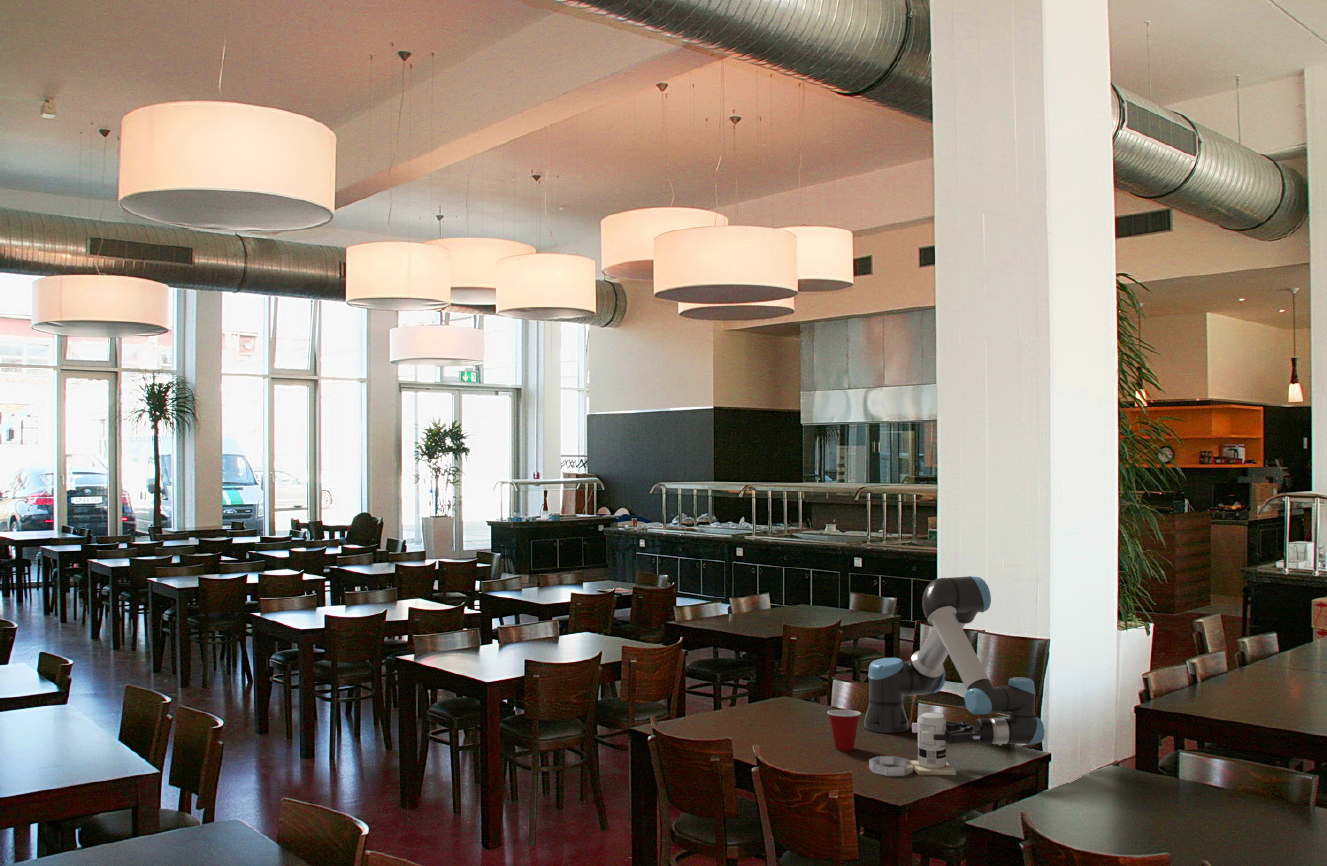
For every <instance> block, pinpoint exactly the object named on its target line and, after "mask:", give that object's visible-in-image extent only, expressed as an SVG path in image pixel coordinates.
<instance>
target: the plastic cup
mask: <svg viewBox="0 0 1327 866" xmlns="http://www.w3.org/2000/svg"><path fill="white" fill-rule="evenodd" d="M826 713H827V715H828V718H829V722H830V728H831V732H832V739H833V743H834V749H835V750H837V751H841V752H851V751H853V750H854V747H855V740H856V737H857V736H856V735H857V729H858V725H859V724H858V723H859V718H860V715H861V714H862V712H860V711H858V710H853V709H852V710H851V709H831V710H828V711H826Z"/></svg>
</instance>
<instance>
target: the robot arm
mask: <svg viewBox="0 0 1327 866" xmlns="http://www.w3.org/2000/svg"><path fill="white" fill-rule="evenodd" d="M921 602H922V603H921V604H922V609H923V614H924V617H925V618H926V620H927V622H928V624H929V625H931V626H932V628H931V630H930V632H929V633H928V635H927V637H926V639H925V640H924V643H923V644H922V646H921V648H920V650H917V651H915V652H914V653H913V654H912V655H911V657H910V659H909V660H907V661H903V659H901V658H898V657H883V658H878V659H875V660H873V661H871V662H870V664H869V666H868V674H867V675H868V707H867V709H866V713H865V717H864V719H863V720H864V721H863V725H864V726H863V728H865V729H866V730H868V731H871V732H876V733H882V734H883V733H884V734H896V733H904V732H907V731H908V730H909V719H908V718H907V714H906V711H905V707H904V697H907V696H908V697H909V696H922V695H923V696H924V695H926V696H927V695H932V694H936V693H939V691H941V690H942V689H943V687H944V686H945V683H946V679H945V677H946V670H945V668H944V662H945V661H946V658H947V657H949V658H950V660H951V662H952V664H953V666H954V668H955V670H956V672H957V674H958V675H959V677H960V680H961V682H962V684H963V685H964V687H965V689H966V692H965V694H964V698H963V699H964V702H965V707H966V710H967V711H968V712H969V713H970V714H972V715H980V716H981V715H984V716H985V715H986V716H987V715H990V714H999V713H1008V716H1009V717H991V718H985V717H983V718H976V720H975V721H974V724H970V723H967V722H966V721H949V720H948V721H947V720H946V730H945V734H944V732H922V742H935V741H944V740H945V742H946V743H949V744H950V745H951V744H952V745H953V744H961V743H975V742H977V744H979V745H992V744H993V745H998V746H1002V745H1003V744H1004V745H1009V744H1010V745H1011V744H1012V745H1013V744H1014V745H1018V744H1019V745H1022V744H1023V745H1032V744H1040V743H1041V742H1042V741H1043V740H1044V738H1045V728H1044V722H1043V721H1042V719H1041V718H1039V717H1036V687H1035V686H1036V685H1035V682H1034V680H1033V679H1031V678H1028V677H1023V676H1021V677H1020V676H1013V677H1010V678H1009V679H1008V682H1007V685H1004V686H1002V685H1001V686H994V685H993V683H992V681H991V679H990V677H989V675H988V674H987V672H986V670H985V668H984V667H983V664H982V663H981V661H980V659H979V657H978V655H977V653H976V652H975V649H974V648H973V646H972V644H971V642H970V640H969V638H968V636H967V634H966V633H965V631H964V627H965V625H968V624H970V623H972V622H973V620H975V618H976V617H977V615H978V613H984V612H987V611H988V610H989V609H990V607H991V603H992V596H991V590H990V588H989V585H988V583H987V582H986V581H985V580H984V579H983V578H981V577H979V576H971V575H970V576H969V575H968V576H958V577H940V578H936V579H934V580H932V581H931V582H930V583H929V584H928V585H927V586H926V587H925V589H924V592H923V595H922V601H921ZM911 730H912V731H911V732H912V733H915V734H916V733H917V734H918V722H912V723H911Z"/></svg>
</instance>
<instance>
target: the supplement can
mask: <svg viewBox="0 0 1327 866" xmlns="http://www.w3.org/2000/svg"><path fill="white" fill-rule="evenodd" d="M946 721H947V720H946V719H945V717H944V714H942V713H939V712H934V711H924V712H921V713H919V716H918V717H917V723H918V733H917V760H918V763H919V764H920V765H921V766H923V767H925V768H931V769H938V768H942V767H944V766H945V765H946V762H947V742H945V740H944V741H935V742H922V732H944V734H945V730H946Z"/></svg>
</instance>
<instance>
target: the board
mask: <svg viewBox="0 0 1327 866" xmlns="http://www.w3.org/2000/svg"><path fill="white" fill-rule="evenodd" d="M909 760H910V759H909ZM910 761H911V762H912V763H913V771H915V773H916V774H917V775H919V776H956V775H957V770H956V769H955V768H954V767H953V766H951V764H949V763H948V762H947V761H946V765H945V766H944V767H942V768H938V769H931V768H925V767H923V766H921V765H920V764H919V763H918V759H913V760H910Z"/></svg>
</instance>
